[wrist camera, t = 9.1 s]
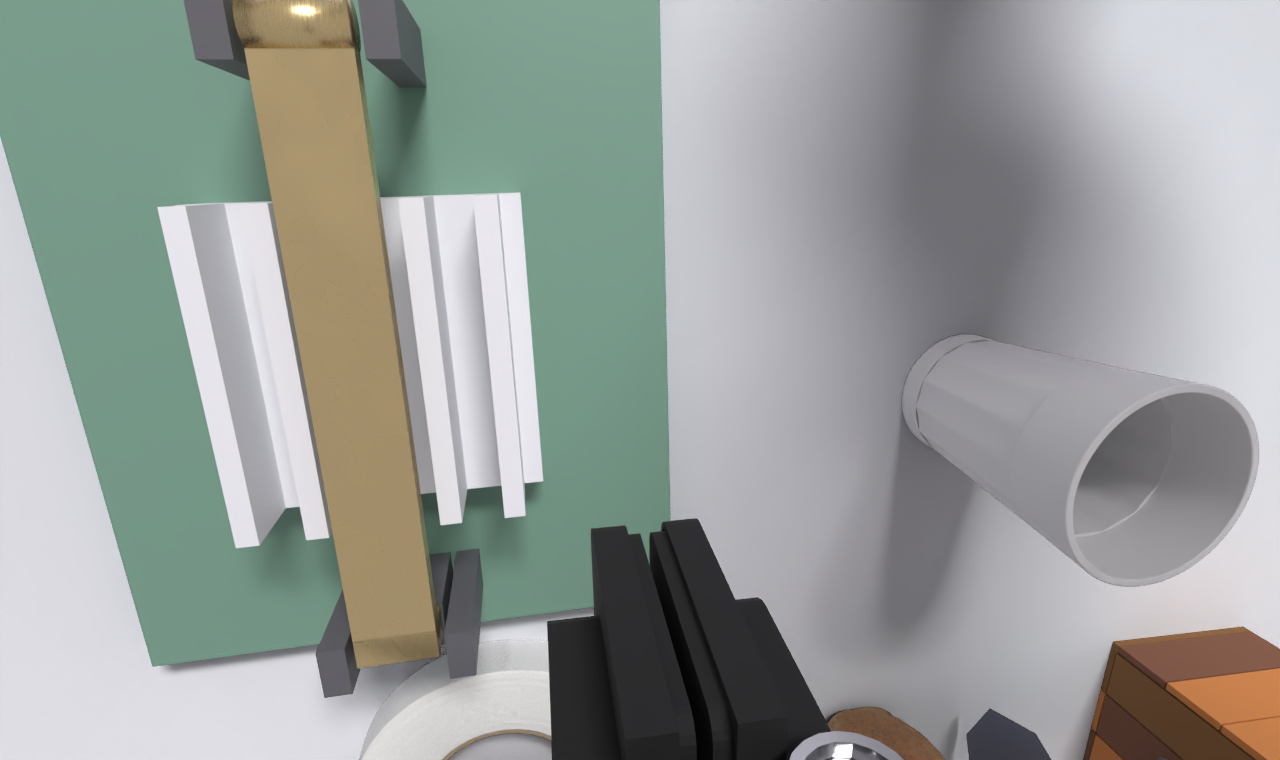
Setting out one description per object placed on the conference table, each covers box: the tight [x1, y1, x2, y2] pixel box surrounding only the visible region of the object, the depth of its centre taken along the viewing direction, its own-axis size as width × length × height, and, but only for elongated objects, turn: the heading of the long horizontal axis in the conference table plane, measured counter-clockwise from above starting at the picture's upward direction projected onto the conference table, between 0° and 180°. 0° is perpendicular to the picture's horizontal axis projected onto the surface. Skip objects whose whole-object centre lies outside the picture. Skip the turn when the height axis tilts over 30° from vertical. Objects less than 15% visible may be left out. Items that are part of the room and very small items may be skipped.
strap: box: [232, 0, 443, 669], centre depth 23 cm, size 23×3×2 cm, turn 2°
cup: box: [902, 334, 1259, 587], centre depth 30 cm, size 8×8×12 cm
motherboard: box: [0, 0, 670, 698], centre depth 26 cm, size 28×24×8 cm
